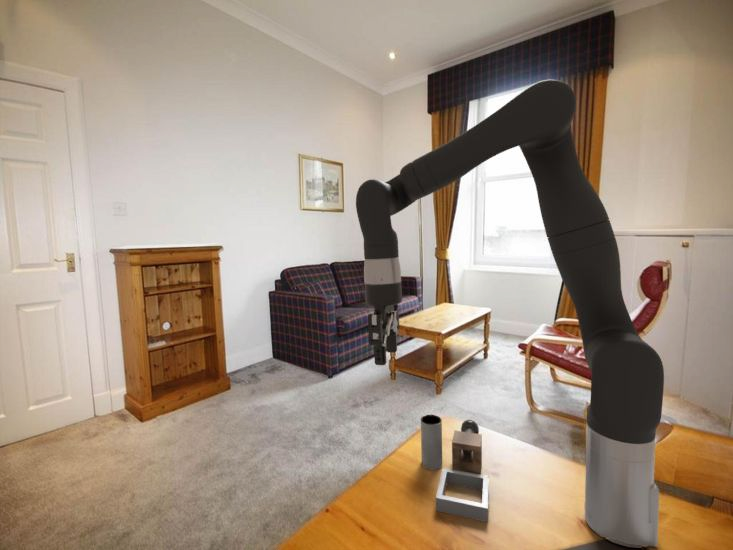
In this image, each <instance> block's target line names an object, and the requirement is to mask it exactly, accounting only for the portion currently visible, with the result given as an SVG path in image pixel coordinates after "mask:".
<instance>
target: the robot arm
mask: <svg viewBox="0 0 733 550" xmlns="http://www.w3.org/2000/svg"><path fill="white" fill-rule="evenodd" d="M576 109H577V97H576V94H575V91H574V90H573V89H572V87H571V86H570V85H569V84H567V83H566V82H564V81H562V80H558V79H544V80H540V81H538V82H535V83H534V84H531V85H530V86H529V87H527V88H525V89H524V90H523V91H521V92H519V94H518V95H517V94H516V96H515V97H514V98H512V99H511V100H510V101H508V102H507V103H505V104H504V105H503V106H501V107H500V108H498V109H497V110H496V111H495V112H493V113H492V114H490V115H489V116H487V117H486V118H485V119H483V120H482V121H480V122H478V123H477V124H475V125H474V126H472V127H471V128H469V129H467V130H466V131H464V132H463V133H461V134H459V135H457V136H456V137H455V138H453V139H451V140H449V141H447V142H446V143H444V144H442V145H440V146H438V147H437V148H435V149H433V150H431V151H429V152H428V153H427V152H426V153H425V154H423V155H421V156H420V157H418V158H415V159H414V160H412V161H410V162H408V163H407V164H406V165H404V166H402V168H401V169H400V171H399V174H397V175H396V176H394V177H392V178H391V179H388V180H387V181H385V182H384V181H382V180H379V179H373V178H371V179H368V180H367V179H366V181H364V182H362V184H361V185H360V186H359V188H358V189H357V192H356V196H355V208H356V214H357V218H358V223H359V227H360V230H361V231H360V232H361V234H362V237H363V255H364V256H363V257H364V262H363V263H364V266H363V279H364V293H365V294H364V297H365V299H364V300H365V304H366V305H368V306H372V307H373V313H372V314H371V313H369V314H368V316H367V323H368V324H367V325H368V345H369V346H370V347H371V346H372V347H373V352H374V364H375V365H376V366H385V365H386V364H387V352H388V353H394V354H395V353H397V351H398V339H397V335H398V334H399V333H398V332H399V330H400V329H401V328H400V327H401V326H400V317H399V313H400V312H399V305H400V304H401V303H402V301H403V293H402V275H401V274H402V272H401V271H402V269H401V264H400V257H399V254H400V253H399V238H398V234H397V232H396V231H395V230H394V229H393V225H392V219H391V216H394V215H396V214H398V213H400V212H401V211H403V210H405V209H406V208H408V207H409V206H411V205H412V204H414V203H415V202H417V201H418V200H419V199H421V198H424V197H427V196H429V195H431V194H433V193H435V192H437V191H439V190H441V189H443V188H446V187H447V186H450V185H452V183H455V182H456V181H457V180H459V179H461V178H463V177H464V176H465V175H467V174H468V173H470V172H471V171H472V170H473V169H475V168H477V167H479V166H481V165H482V164H483V163H484V162H487V161H488V160H490V159H491V158H493V157H495V156H497V155H499V154H501V153H504V152H506V151H508V150H510V149H511V150H512V149H514V148H517V147H519V149H520V151H521V153H522V155H523V156H524V159H525V161H526V163H527V166H528V168H529V170H530V174H531V175H532V177H533V181H534V184H535V189H536V193H537V200H538V205H539V210H540V215H541V218H542V223H543V227H544V231H545V234H546V237H547V241H548V244H549V245H548V246H549V248H550V250H551V253H552V257H553V259H554V262H555V264H556V267H557V270H558V272H559V275H560V277H561V279H562V282H563V285H564V286H565V289H566V291H567V293H568V295H569V296H570V299H571V301H572V303H573V306H574V309H575V312H576V317H577V322H578V325H579V330H580V336H581V341H582V347H583V353H584V358H585V361H586V364H587V366H588V368H589V369H590V375H591V376H590V377H591V378H590V401H589V402H590V403H589V404H588V405H587V407H586V423H585V424H586V430H585V432H586V433H585V434H586V435H585V436H586V437H585V441H586V442H585V476H584V477H585V481H584V482H585V484H584V485H585V487H584V489H585V490H584V518H585V521H586V523H587V525H588V526H589V527H590V529H591V530H593V532H595V533H596V534H597V535H598V536H600V537H601V538H603V537H605V538H610V539H614V540H618V541H621V542H624V543H627V544H634V545H641V546H644V547H645V548H647V547H654V548H657V547H658V537H659V515H660V514H659V512H660V511H659V509H660V489H659V487H658V486H657V484H656V483H655V461H656V459H655V457H656V456H655V453H656V432H657V431H656V430H657V428H658V426H659V425H660V423H661V420H662V419H661V418H662V415H663V414H662V411H663V401H664V400H663V398H664V387H665V368H664V364H663V361H662V358H661V357H660V355H659V354H658V352H657V351H656V350H655V349H654V348H653V347H652V346H650V345H649V343H647V342H645V340H643V339H642V337H640V334H639V332H638V331H637V329H636V327H635V325H634V323H633V321H632V318H631V316H630V314H629V311H628V308H627V306H626V303H625V300H624V296H623V292H622V279H621V277H622V274H621V271H622V270H621V259H620V253H619V252H620V251H619V247H618V243H617V237H616V235H615V233H614V229H613V226H612V224H611V220H610V218H609V215H608V212H607V210H606V207H605V205H604V204H603V201H602V200H601V199H600V196H599V195H598V193H597V191H596V190H595V188H594V186H593V185H592V183H591V182H590V181H589V179H588V177H587V176H586V174H585V171H583V169H582V167H581V164H580V161H579V158H578V157H579V156H578V154H577V149H576V146H575V141H574V138H573V130H572V122H573V119H574V116H575V113H576Z"/></svg>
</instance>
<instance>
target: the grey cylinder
mask: <svg viewBox="0 0 733 550" xmlns="http://www.w3.org/2000/svg"><path fill="white" fill-rule="evenodd" d="M442 421H443V419H442V418H441V417H440V416H438V415H435V414H424V415H423V416H421V418H420V440H421V441H420V442H421V444H420V445H421V448H420V449H421V464H422V466H423V467H424V468H425V469H427V470H430V471H437V470H439V469H441V468H443V467H442V466H443V427H442V426H443V423H442Z"/></svg>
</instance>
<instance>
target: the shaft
mask: <svg viewBox="0 0 733 550" xmlns="http://www.w3.org/2000/svg"><path fill="white" fill-rule="evenodd" d="M460 431H462V432H469V433H476V434H480V433H479V431H480V428H479V425H478V423H477V422H476V421H474V420H471V419H466V420H464V421H463V422H462V423H461V428H460ZM462 450H463V449H462ZM463 452H464V453H465V454H471V452H472V451H469V450H463Z"/></svg>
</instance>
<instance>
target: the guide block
mask: <svg viewBox="0 0 733 550" xmlns="http://www.w3.org/2000/svg"><path fill="white" fill-rule="evenodd" d="M482 435H483V434H482V433H478V434H476V433H469V432H462V431H461V430H454V432H453V437H452V440H451V441H452V442H451V459H452V460H451V462H452V463H451V464H452V466H451V467H452V470H457V471H463V472H468V473H474V474H479V475H482V467H483V466H482V465H483V464H482V463H483V458H482V457H483V456H482V455H483V451H482V449H483V445H482ZM462 449H463V450H469V451H472V452H471V454H465V453H464V452H463V450H462Z"/></svg>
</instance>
